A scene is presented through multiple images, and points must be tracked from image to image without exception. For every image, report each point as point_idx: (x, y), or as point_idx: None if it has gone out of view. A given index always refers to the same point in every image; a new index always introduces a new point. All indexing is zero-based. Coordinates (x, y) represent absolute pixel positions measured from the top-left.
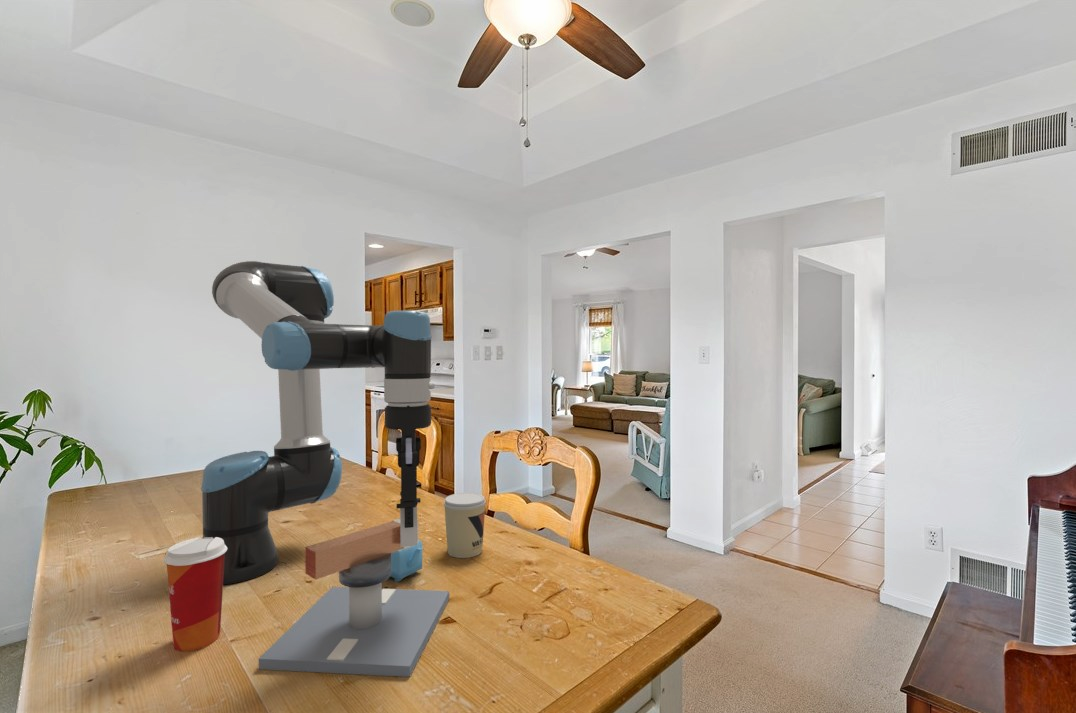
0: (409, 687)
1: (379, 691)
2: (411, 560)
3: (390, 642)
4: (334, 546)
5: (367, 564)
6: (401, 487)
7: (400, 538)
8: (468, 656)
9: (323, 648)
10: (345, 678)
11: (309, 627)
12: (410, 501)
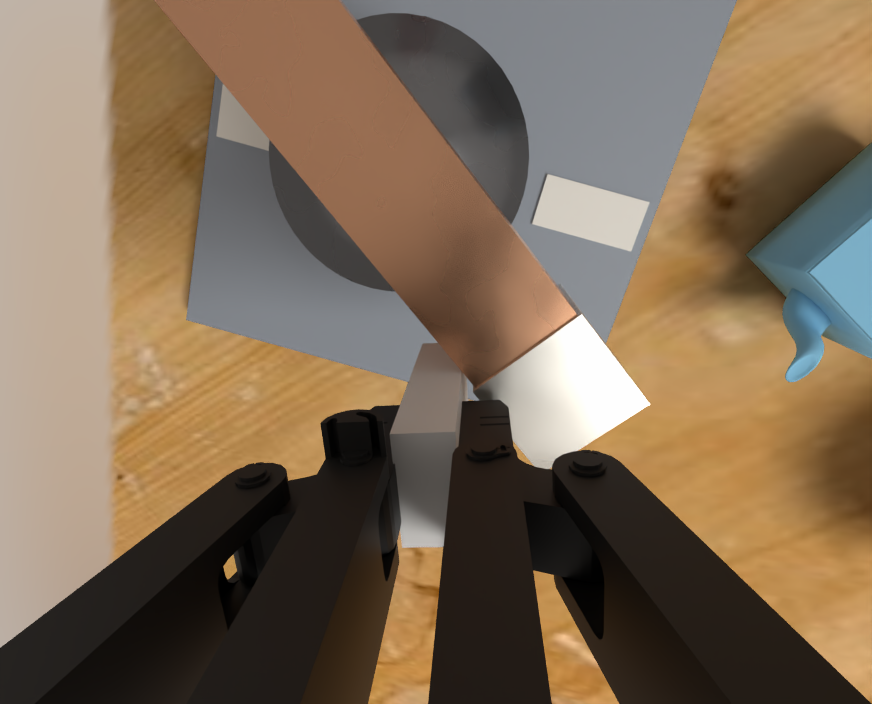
0: (164, 314)
1: (152, 246)
2: (790, 313)
3: (295, 262)
4: None
5: (307, 187)
6: (73, 596)
7: (418, 356)
8: (270, 445)
9: None
10: (203, 151)
11: None
12: (234, 557)
